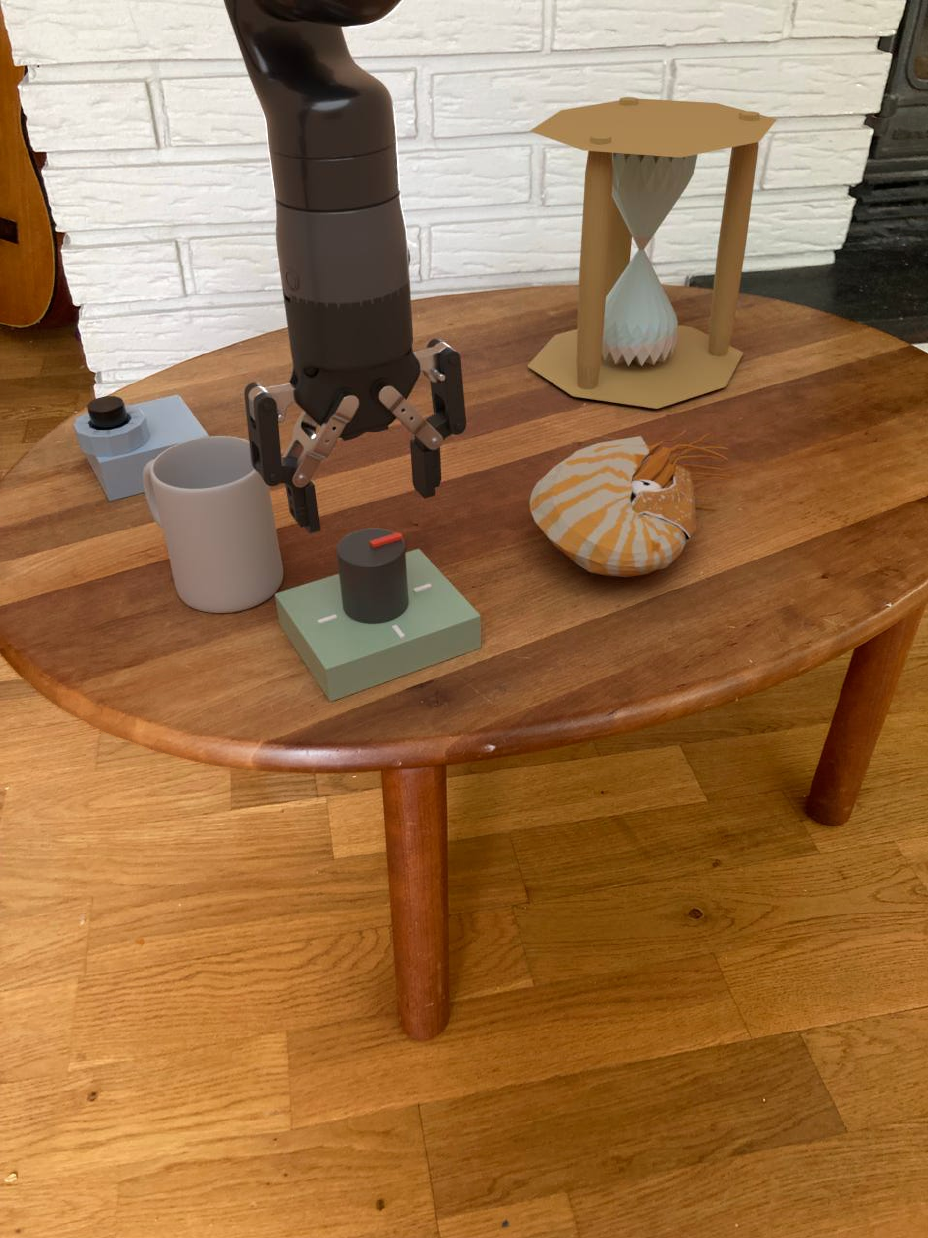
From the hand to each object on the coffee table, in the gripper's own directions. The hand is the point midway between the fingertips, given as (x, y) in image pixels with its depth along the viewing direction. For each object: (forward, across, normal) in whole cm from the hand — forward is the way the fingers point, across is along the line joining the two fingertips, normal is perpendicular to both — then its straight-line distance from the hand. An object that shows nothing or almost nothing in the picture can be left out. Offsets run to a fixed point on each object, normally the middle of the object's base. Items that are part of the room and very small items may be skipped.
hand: (368, 509), depth 71 cm
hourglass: (+12, -45, -30) cm, 55 cm away
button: (+5, +11, -34) cm, 36 cm away
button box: (+11, +8, -35) cm, 38 cm away
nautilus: (+11, -25, -1) cm, 27 cm away
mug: (+11, +8, -14) cm, 20 cm away
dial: (+8, 0, 0) cm, 8 cm away
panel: (+11, 0, 0) cm, 11 cm away
